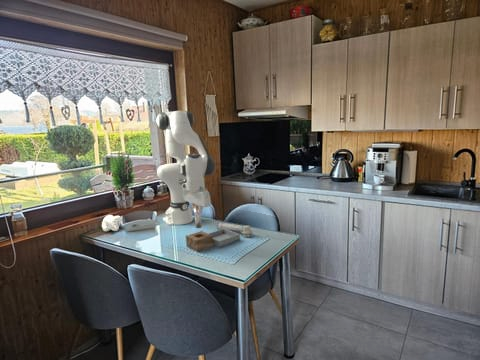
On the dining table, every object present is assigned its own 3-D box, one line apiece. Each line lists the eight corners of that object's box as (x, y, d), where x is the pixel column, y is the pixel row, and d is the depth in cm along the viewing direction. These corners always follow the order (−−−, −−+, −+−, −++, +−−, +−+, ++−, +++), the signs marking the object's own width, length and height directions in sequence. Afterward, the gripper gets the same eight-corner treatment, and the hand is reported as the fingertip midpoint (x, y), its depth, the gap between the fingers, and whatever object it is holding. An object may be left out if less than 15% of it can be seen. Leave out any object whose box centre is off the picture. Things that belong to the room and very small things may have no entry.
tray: (203, 240, 171) (203, 234, 171) (223, 234, 180) (223, 228, 180) (219, 247, 161) (219, 241, 160) (239, 240, 170) (239, 234, 169)
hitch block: (186, 246, 164) (185, 235, 163) (202, 241, 171) (201, 230, 170) (197, 252, 157) (196, 240, 156) (213, 246, 163) (212, 235, 162)
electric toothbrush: (221, 221, 192) (253, 223, 175) (223, 231, 192) (254, 235, 176) (215, 223, 188) (247, 226, 171) (217, 234, 188) (248, 237, 172)
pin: (194, 227, 162) (192, 206, 160) (199, 225, 164) (198, 205, 162) (197, 228, 160) (196, 207, 158) (202, 227, 162) (201, 206, 160)
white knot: (97, 233, 191) (95, 219, 189) (109, 226, 202) (107, 213, 201) (113, 233, 188) (112, 219, 187) (124, 227, 200) (123, 213, 198)
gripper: (213, 187, 152) (214, 214, 155) (190, 182, 167) (192, 207, 170) (202, 189, 148) (204, 217, 151) (180, 184, 163) (182, 209, 166)
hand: (197, 212), depth 160 cm, fingers closed on pin, 3 cm apart
